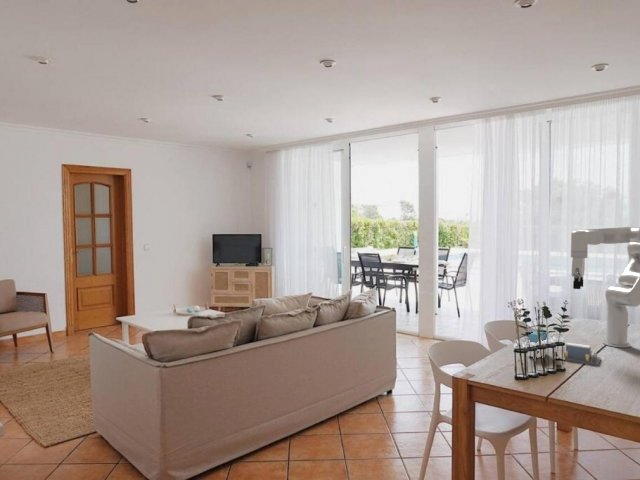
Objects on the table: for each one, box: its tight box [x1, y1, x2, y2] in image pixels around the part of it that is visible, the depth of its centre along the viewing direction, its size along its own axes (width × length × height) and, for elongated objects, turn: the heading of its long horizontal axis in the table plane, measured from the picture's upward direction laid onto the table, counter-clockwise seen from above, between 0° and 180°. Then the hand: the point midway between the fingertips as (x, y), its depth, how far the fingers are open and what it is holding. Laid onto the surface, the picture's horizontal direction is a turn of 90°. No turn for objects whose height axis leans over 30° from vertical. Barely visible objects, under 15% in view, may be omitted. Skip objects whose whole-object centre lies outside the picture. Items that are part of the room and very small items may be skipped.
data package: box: [528, 330, 548, 354], centre depth 234 cm, size 12×4×12 cm, turn 133°
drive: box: [565, 342, 592, 360], centre depth 228 cm, size 4×10×6 cm, turn 53°
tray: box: [564, 350, 602, 367], centre depth 228 cm, size 12×18×4 cm, turn 54°
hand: (578, 287), depth 243 cm, fingers open, 9 cm apart
